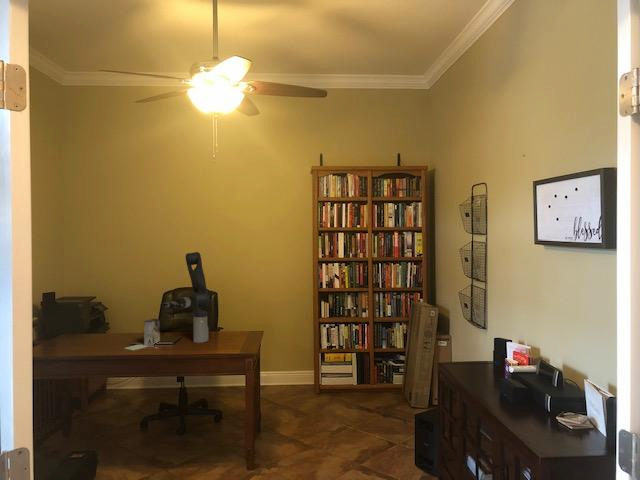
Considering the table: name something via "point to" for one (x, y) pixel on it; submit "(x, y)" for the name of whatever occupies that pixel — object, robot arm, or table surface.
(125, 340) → the table surface
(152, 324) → the coffee box
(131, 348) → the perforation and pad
